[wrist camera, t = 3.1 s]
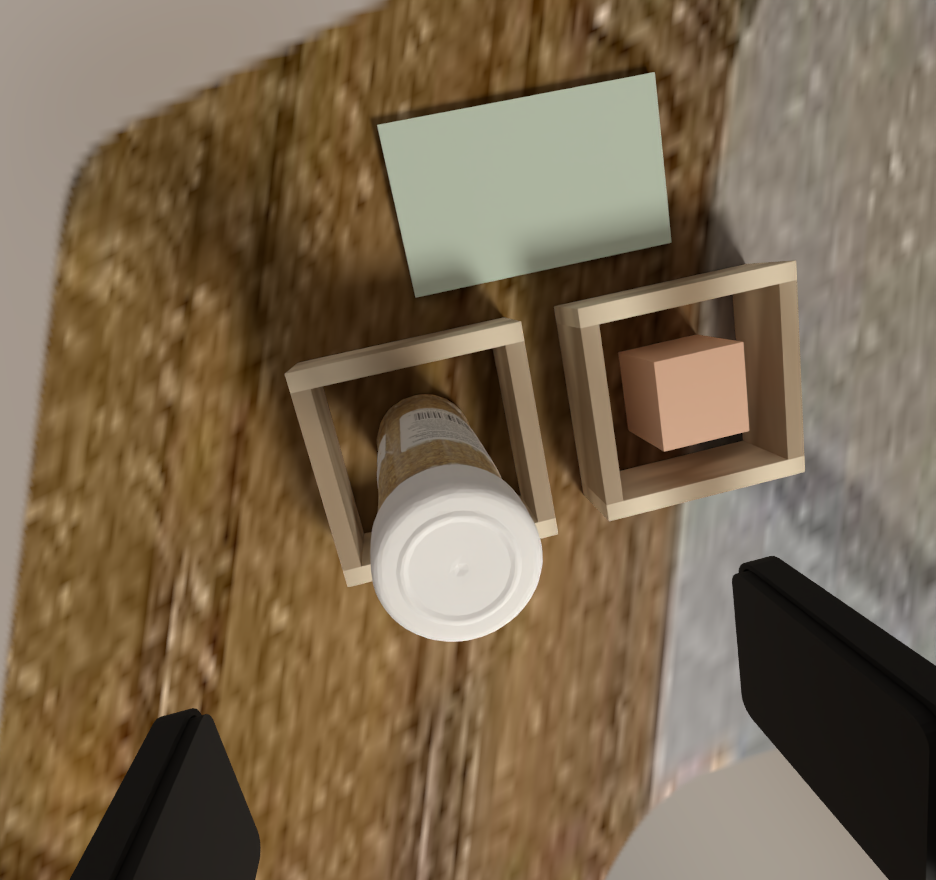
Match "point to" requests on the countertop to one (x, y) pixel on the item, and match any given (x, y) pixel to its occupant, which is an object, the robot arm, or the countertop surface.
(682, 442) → the terracotta cube
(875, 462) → the countertop surface
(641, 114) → the mat
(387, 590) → the sprinkles bottle
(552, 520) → the box
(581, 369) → the box
